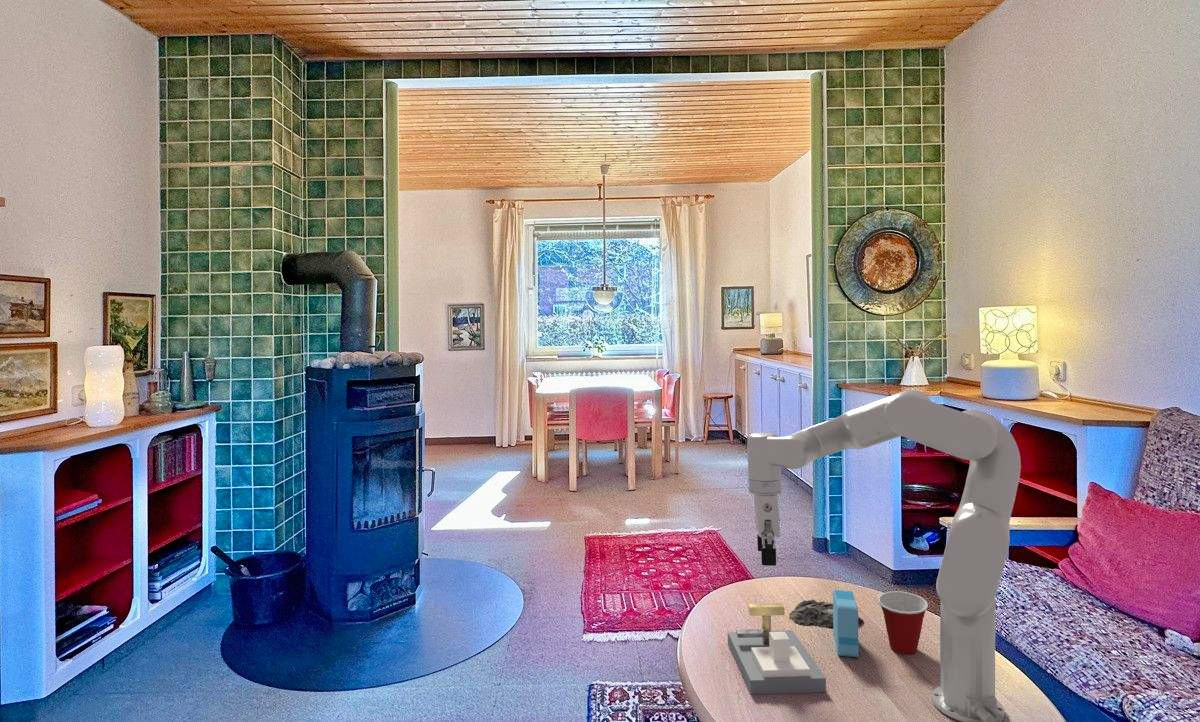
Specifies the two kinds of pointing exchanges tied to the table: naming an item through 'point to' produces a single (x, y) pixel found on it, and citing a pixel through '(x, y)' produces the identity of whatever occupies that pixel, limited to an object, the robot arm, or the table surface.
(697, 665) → the table surface
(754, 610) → the tan t-shaped piece
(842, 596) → the data package
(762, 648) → the lid
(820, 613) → the geode
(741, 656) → the plate
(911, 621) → the plastic cup
